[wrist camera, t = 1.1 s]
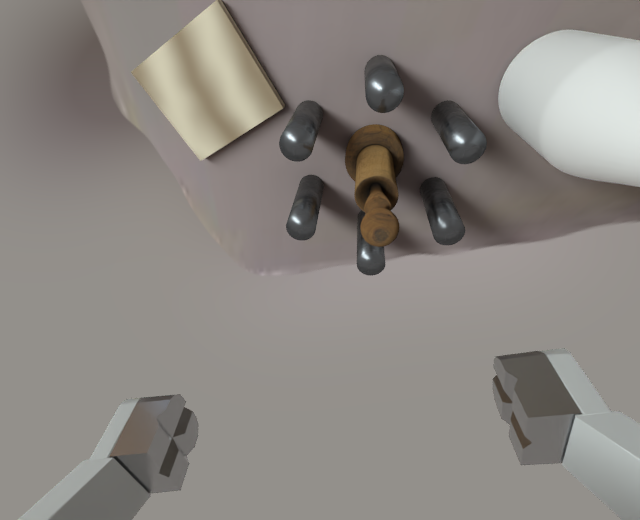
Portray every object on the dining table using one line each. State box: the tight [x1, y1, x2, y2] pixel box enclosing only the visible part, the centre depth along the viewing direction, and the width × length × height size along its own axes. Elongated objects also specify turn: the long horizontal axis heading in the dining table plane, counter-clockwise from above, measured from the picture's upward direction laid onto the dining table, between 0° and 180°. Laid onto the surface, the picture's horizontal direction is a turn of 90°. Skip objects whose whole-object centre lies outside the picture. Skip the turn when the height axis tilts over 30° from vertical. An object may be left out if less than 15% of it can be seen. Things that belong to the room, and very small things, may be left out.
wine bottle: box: [498, 30, 640, 187], centre depth 25 cm, size 10×10×30 cm
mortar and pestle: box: [345, 125, 404, 247], centre depth 35 cm, size 7×6×18 cm
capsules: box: [279, 55, 487, 275], centre depth 38 cm, size 20×18×10 cm
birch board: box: [131, 0, 285, 161], centre depth 39 cm, size 12×11×1 cm
